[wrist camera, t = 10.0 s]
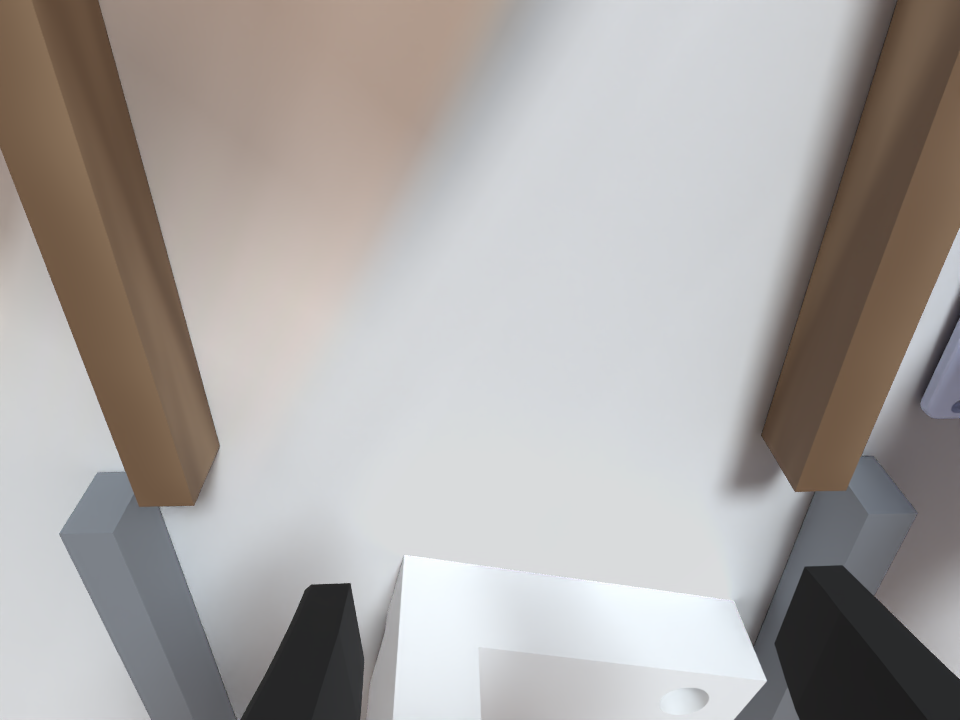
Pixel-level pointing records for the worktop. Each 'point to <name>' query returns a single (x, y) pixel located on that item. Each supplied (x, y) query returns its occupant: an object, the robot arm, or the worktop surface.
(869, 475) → the gray u-shaped frame
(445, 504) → the worktop surface
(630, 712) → the bracket
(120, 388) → the brown rectangular beams
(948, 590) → the worktop surface
